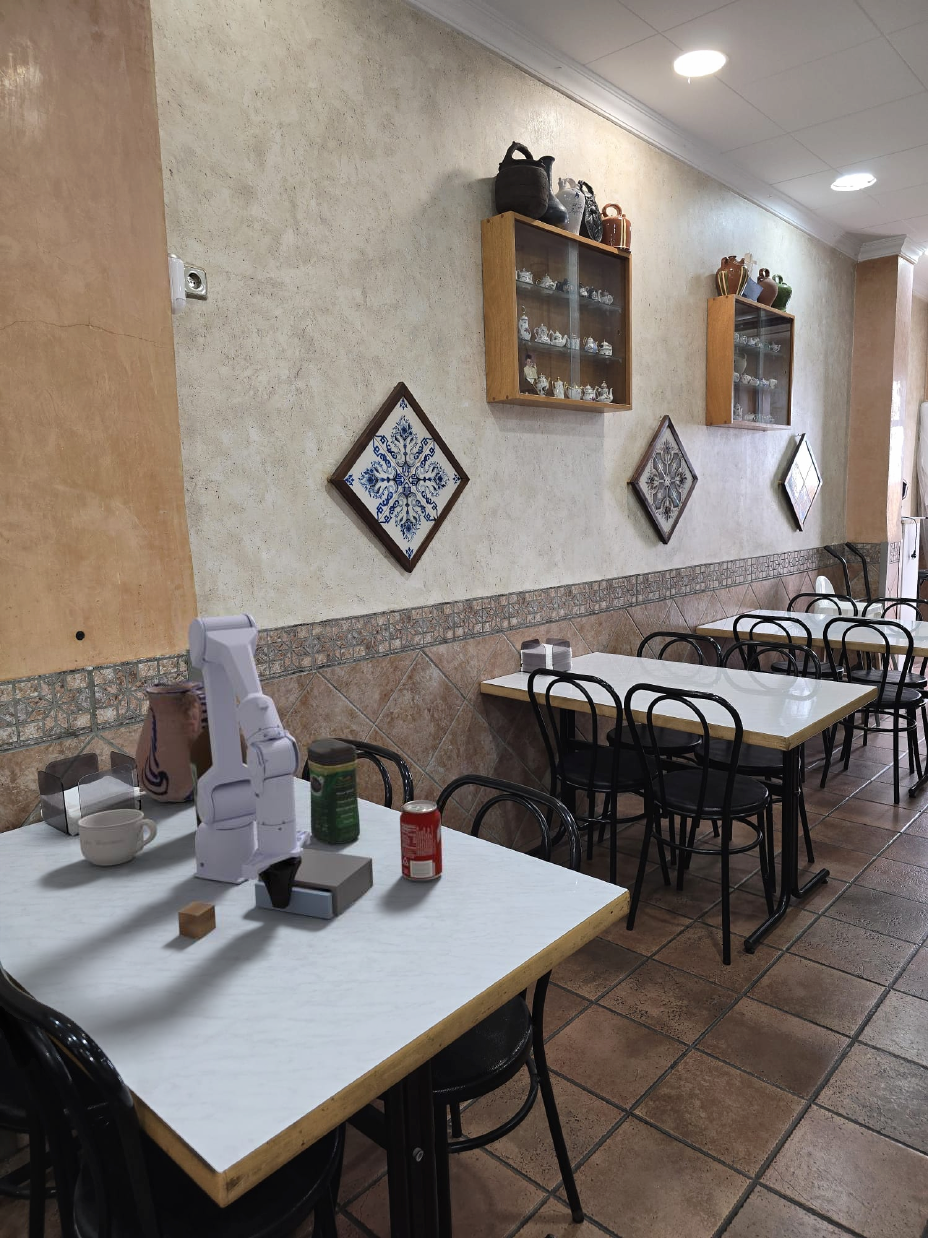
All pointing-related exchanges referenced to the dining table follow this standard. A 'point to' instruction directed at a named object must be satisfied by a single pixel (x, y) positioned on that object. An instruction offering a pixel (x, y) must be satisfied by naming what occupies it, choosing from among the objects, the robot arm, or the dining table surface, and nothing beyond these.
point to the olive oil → (205, 761)
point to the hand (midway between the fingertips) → (280, 906)
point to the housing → (335, 876)
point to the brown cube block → (196, 920)
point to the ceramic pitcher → (170, 739)
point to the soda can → (421, 841)
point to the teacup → (114, 836)
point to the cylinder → (311, 888)
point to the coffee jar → (333, 791)
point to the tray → (299, 901)
